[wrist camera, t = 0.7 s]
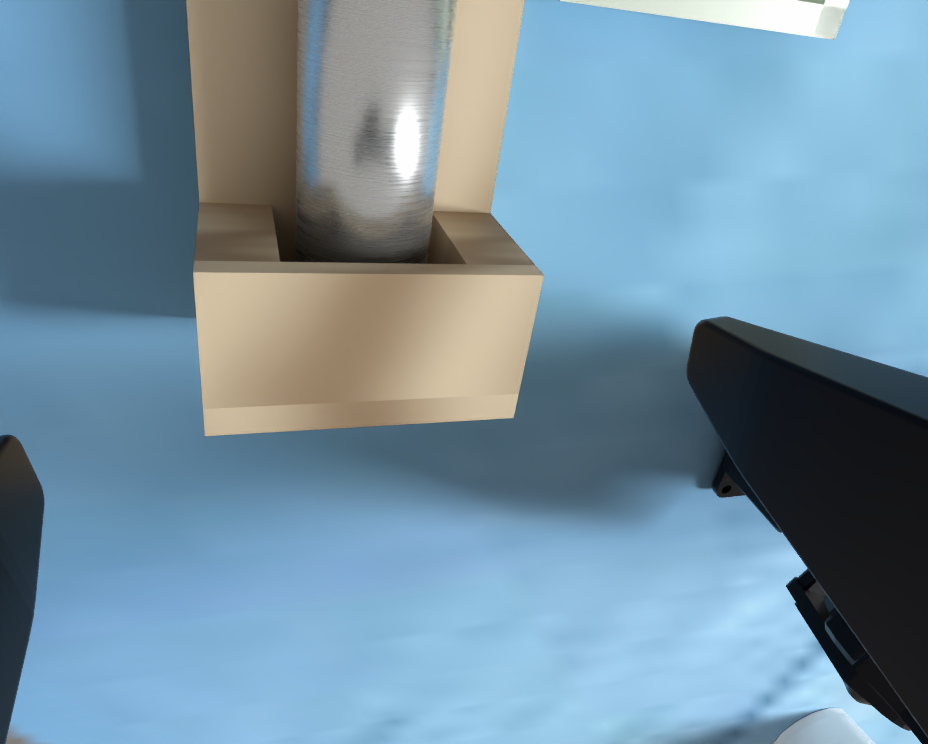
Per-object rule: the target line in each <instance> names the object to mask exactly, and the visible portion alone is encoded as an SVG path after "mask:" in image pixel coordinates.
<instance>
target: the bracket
mask: <svg viewBox="0 0 928 744" xmlns="http://www.w3.org/2000/svg"><path fill="white" fill-rule="evenodd" d="M524 1H525V0H458V2H457V11H456V19H455V28H454V36H453V45H452V53H451V62H450V71H449V79H448V88H447V96H446V105H445V113H444V122H443V131H442V139H441V148H440V156H439V165H438V173H437V182H436V191H435V199H434V208H433V216H432V225H431V233H430V242H429V251H428V259H427V264H403V263H330V262H295V253H296V153H297V53H298V0H186V5H187V20H188V36H189V51H190V67H191V82H192V98H193V113H194V128H195V144H196V159H197V175H198V190H199V211H198V222H197V234H196V245H195V256H194V267H193V278H194V292H195V306H196V319H197V333H198V346H199V360H200V374H201V387H202V401H203V414H204V428H205V436H215V435H232V434H249V433H266V432H283V431H301V430H318V429H335V428H352V427H369V426H386V425H403V424H420V423H437V422H454V421H471V420H488V419H505V418H514V414H515V409H516V404H517V400H518V395H519V390H520V386H521V381H522V376H523V372H524V367H525V362H526V358H527V353H528V348H529V344H530V339H531V334H532V329H533V325H534V320H535V315H536V311H537V306H538V301H539V297H540V292H541V287H542V283H543V278H544V275H543V274H542V272H541V271H540V270H539V269H538V268H537V267H536V266H535V264H534V263H533V262H532V261H531V260H530V259H529V257H528V256H527V255H526V254H525V253H524V252H523V251H522V249H521V248H520V247H519V246H518V245H517V244H516V242H515V241H514V240H513V239H512V238H511V237H510V236H509V234H508V233H507V232H506V231H505V230H504V229H503V227H502V226H501V225H500V224H499V223H498V222H497V220H496V219H495V218H494V217H493V216H492V215H491V214H490V212H491V206H492V200H493V193H494V187H495V181H496V175H497V169H498V162H499V156H500V150H501V144H502V138H503V131H504V125H505V119H506V113H507V107H508V100H509V94H510V88H511V82H512V76H513V69H514V63H515V57H516V51H517V45H518V38H519V32H520V26H521V20H522V14H523V8H524Z"/></svg>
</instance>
